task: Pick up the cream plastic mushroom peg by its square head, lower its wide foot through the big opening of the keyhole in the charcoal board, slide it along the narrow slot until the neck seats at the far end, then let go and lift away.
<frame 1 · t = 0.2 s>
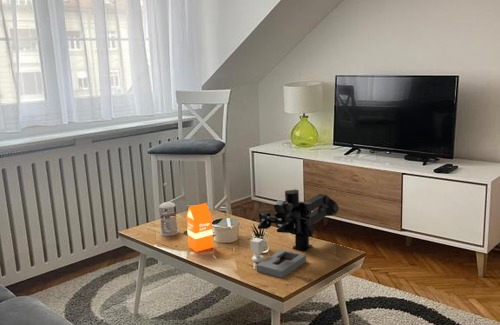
hand: (267, 229, 202), 17 cm above the table, tool horizontal, fingers open, 9 cm apart
orange juice: (201, 247, 232), on the table
keyhole board: (281, 266, 207), on the table
phone: (199, 235, 249), on the table
keyhole peg: (257, 260, 214), on the table
french press: (168, 232, 254), on the table
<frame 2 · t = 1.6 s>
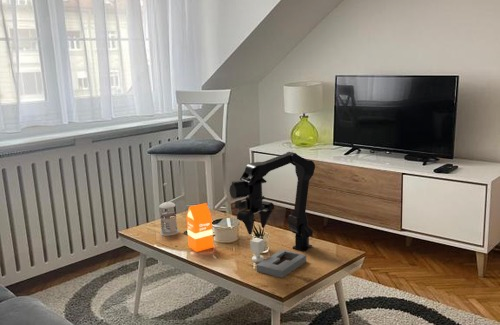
hand: (256, 230, 212), 13 cm above the table, tool pointing down, fingers open, 9 cm apart
nothing on the table moved.
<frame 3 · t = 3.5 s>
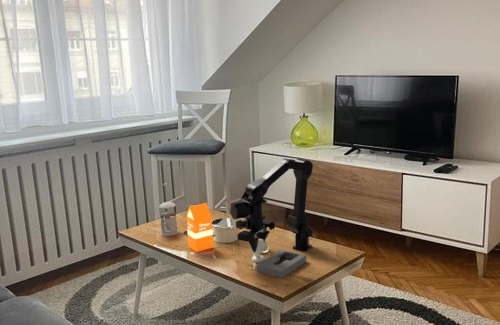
hand: (257, 250, 213), 5 cm above the table, tool pointing down, fingers closed on keyhole peg, 4 cm apart
keyhole peg: (257, 260, 214), on the table, touching gripper
everything else where it was.
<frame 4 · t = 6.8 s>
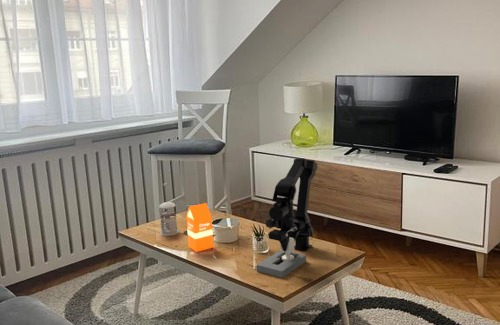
hand: (287, 249, 210), 6 cm above the table, tool pointing down, fingers closed on keyhole peg, 4 cm apart
keyhole peg: (288, 259, 211), point 1 cm above the table, touching gripper
everything else where it was.
when the fingers open (5 cm above the table, at t = 10.4 s): keyhole peg stays where it is, resting in keyhole board.
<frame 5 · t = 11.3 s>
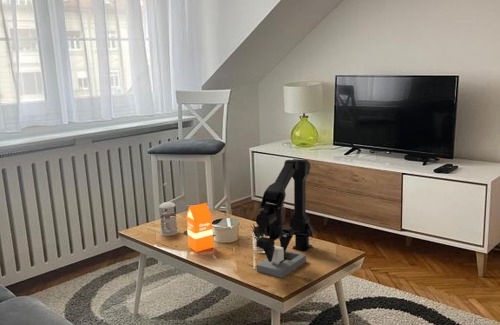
hand: (276, 257, 203), 5 cm above the table, tool pointing down, fingers open, 9 cm apart
keyhole peg: (277, 269, 205), resting in keyhole board
everything else where it was.
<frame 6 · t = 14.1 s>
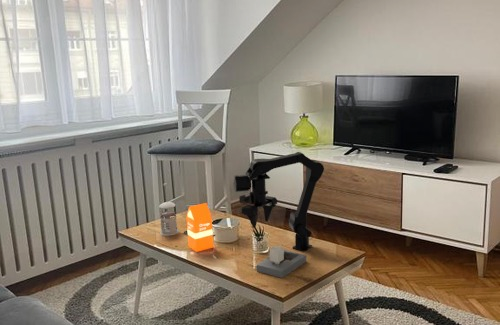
hand: (260, 224, 219), 13 cm above the table, tool pointing down, fingers open, 9 cm apart
nothing on the table moved.
at the end: keyhole peg 0.1 cm from the target spot on the keyhole board, point 0.0 cm above the keyhole board's base; keyhole peg tilted 0°; the gripper is holding nothing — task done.
